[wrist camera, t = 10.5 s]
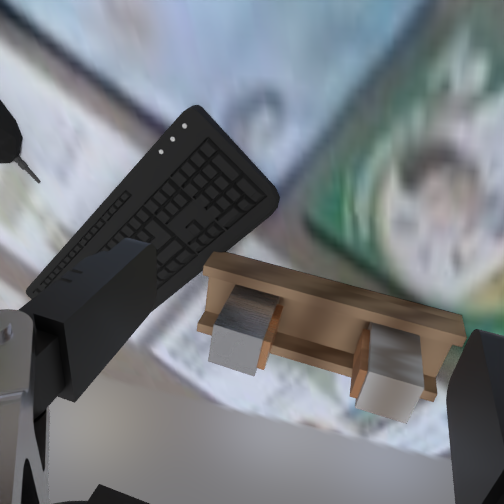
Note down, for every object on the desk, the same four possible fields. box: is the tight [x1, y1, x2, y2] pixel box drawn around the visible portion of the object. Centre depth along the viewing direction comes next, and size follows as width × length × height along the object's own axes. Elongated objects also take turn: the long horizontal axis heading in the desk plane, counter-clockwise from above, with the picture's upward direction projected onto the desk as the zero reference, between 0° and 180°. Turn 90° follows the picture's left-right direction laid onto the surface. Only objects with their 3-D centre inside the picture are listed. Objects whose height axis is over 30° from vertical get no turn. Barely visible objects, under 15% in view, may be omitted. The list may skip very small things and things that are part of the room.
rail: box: [197, 251, 467, 424], centre depth 38 cm, size 22×8×8 cm, turn 81°
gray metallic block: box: [208, 284, 284, 376], centre depth 38 cm, size 4×5×7 cm
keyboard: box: [26, 105, 280, 313], centre depth 43 cm, size 30×11×2 cm, turn 135°
